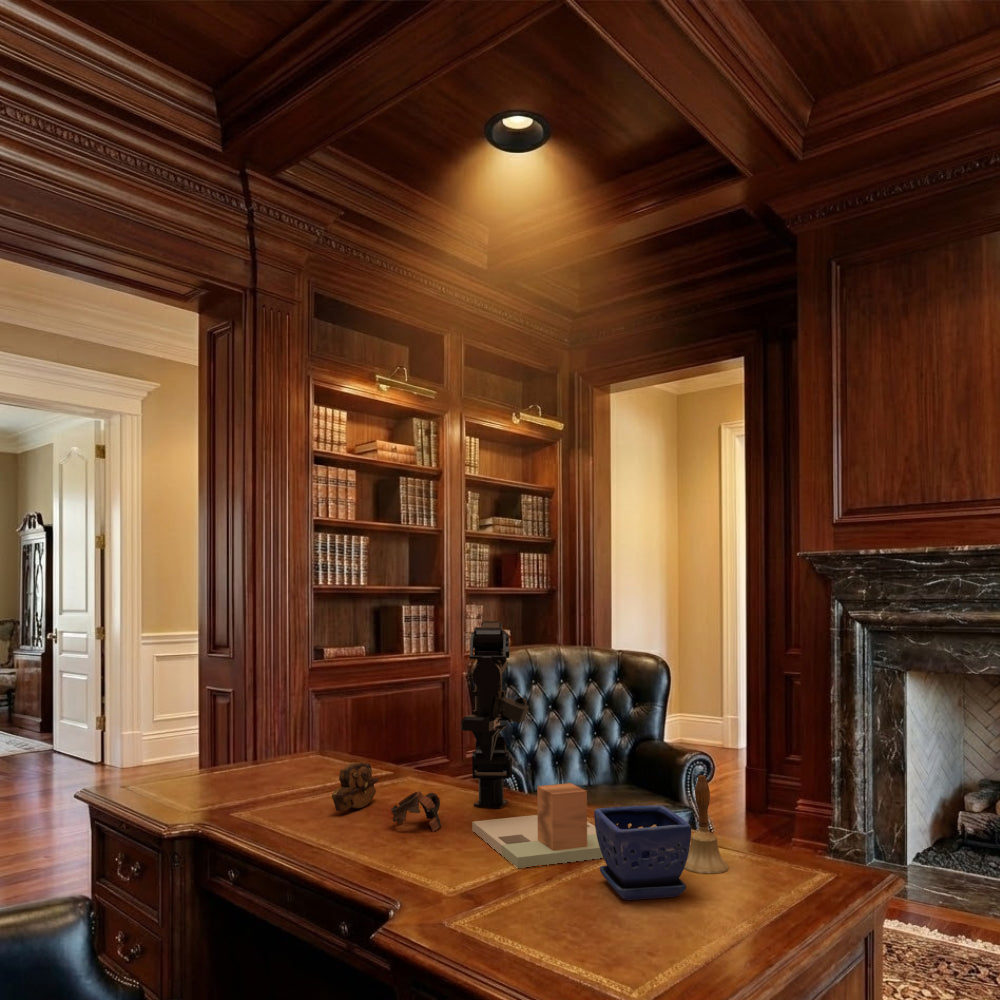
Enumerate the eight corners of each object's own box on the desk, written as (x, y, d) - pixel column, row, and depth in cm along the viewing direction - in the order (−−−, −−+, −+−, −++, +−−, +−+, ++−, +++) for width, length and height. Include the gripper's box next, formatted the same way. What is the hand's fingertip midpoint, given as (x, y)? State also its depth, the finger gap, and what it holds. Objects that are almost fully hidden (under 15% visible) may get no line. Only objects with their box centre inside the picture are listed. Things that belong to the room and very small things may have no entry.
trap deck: (472, 831, 176) (472, 821, 177) (569, 821, 184) (569, 811, 184) (501, 855, 161) (501, 844, 161) (607, 843, 168) (607, 832, 168)
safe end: (501, 855, 161) (501, 844, 161) (607, 843, 168) (607, 832, 168) (517, 869, 153) (517, 857, 153) (627, 855, 161) (627, 844, 161)
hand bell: (729, 875, 150) (727, 781, 151) (681, 872, 151) (679, 779, 153) (727, 860, 158) (724, 771, 159) (680, 858, 159) (679, 769, 161)
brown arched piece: (430, 839, 173) (409, 802, 174) (398, 853, 178) (378, 817, 178) (459, 809, 184) (439, 775, 185) (427, 824, 188) (408, 790, 189)
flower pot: (696, 901, 138) (694, 824, 139) (617, 907, 135) (616, 828, 136) (664, 873, 151) (663, 803, 152) (591, 879, 148) (591, 807, 149)
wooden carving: (348, 818, 186) (349, 771, 187) (329, 817, 188) (330, 770, 189) (381, 800, 202) (382, 757, 203) (364, 799, 203) (365, 755, 204)
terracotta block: (537, 840, 164) (537, 786, 165) (571, 836, 166) (570, 783, 167) (552, 850, 157) (552, 794, 158) (587, 846, 160) (586, 791, 161)
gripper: (511, 690, 174) (511, 770, 172) (536, 683, 192) (536, 755, 190) (459, 689, 178) (459, 767, 176) (488, 682, 195) (488, 753, 193)
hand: (488, 760), depth 184 cm, fingers closed
